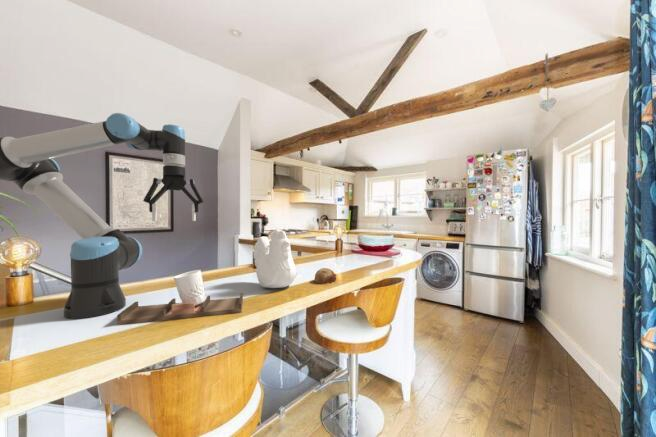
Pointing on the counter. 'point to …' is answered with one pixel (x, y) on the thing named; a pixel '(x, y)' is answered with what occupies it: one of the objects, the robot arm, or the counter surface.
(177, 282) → the white cup
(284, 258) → the decorative rooster
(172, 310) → the brown compartment tray
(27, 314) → the counter surface
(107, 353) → the counter surface
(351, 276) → the counter surface
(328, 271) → the bread roll
